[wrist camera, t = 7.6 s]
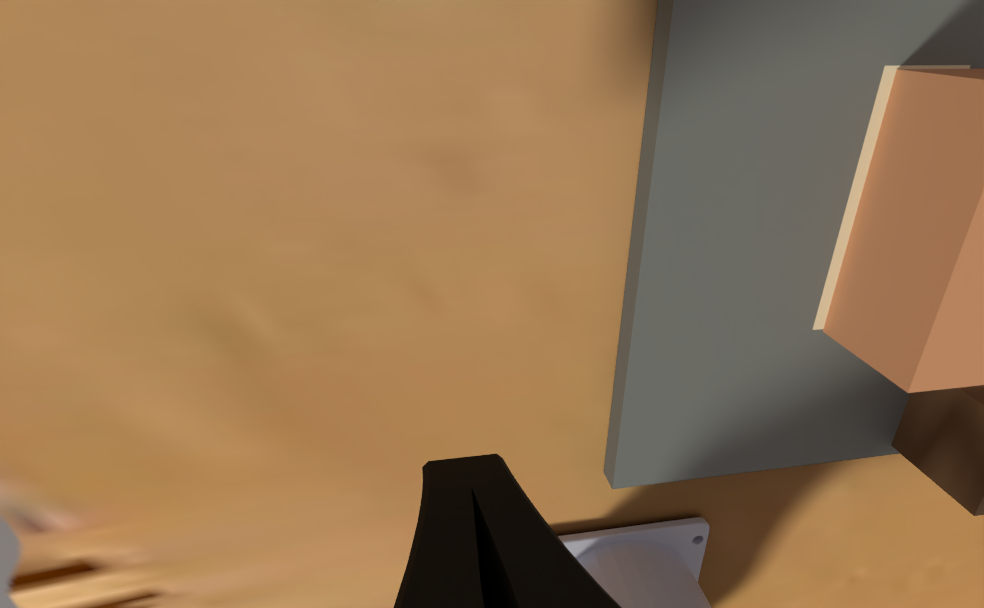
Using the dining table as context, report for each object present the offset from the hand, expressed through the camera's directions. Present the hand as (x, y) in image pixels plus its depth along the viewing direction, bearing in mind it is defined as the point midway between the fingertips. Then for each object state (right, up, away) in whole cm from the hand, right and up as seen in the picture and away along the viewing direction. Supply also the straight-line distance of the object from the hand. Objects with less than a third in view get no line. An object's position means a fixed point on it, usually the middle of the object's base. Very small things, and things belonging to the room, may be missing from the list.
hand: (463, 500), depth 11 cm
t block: (+17, +7, +10) cm, 21 cm away
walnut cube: (+19, 0, +14) cm, 24 cm away
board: (+13, +5, +11) cm, 18 cm away
